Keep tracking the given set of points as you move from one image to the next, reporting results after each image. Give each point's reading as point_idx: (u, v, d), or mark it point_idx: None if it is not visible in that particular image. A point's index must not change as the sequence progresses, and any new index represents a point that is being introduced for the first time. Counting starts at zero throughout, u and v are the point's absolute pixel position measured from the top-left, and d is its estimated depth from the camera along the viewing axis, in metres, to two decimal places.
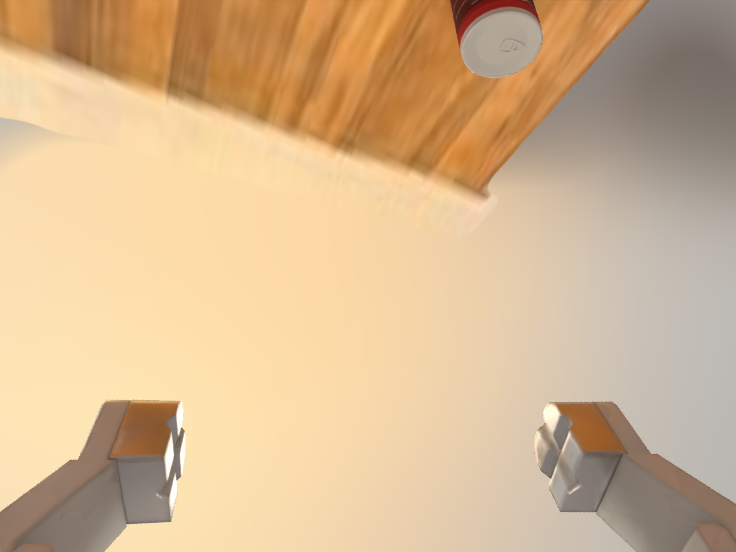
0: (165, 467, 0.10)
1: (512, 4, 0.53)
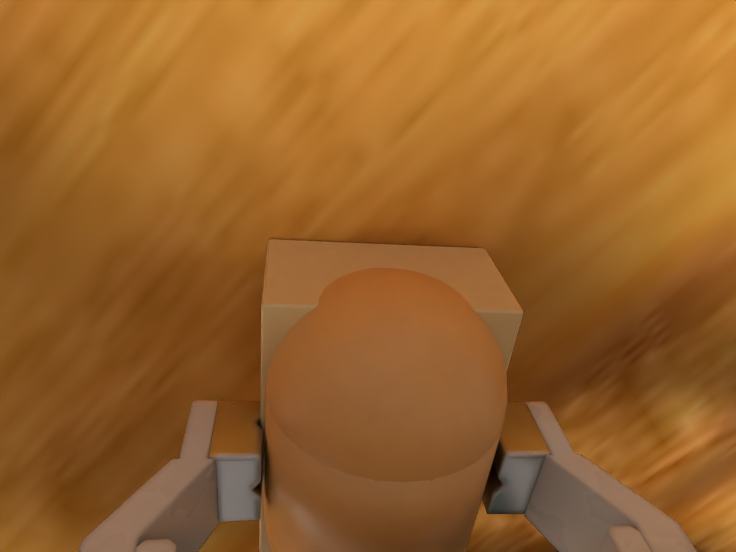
0: (261, 466, 0.11)
1: None
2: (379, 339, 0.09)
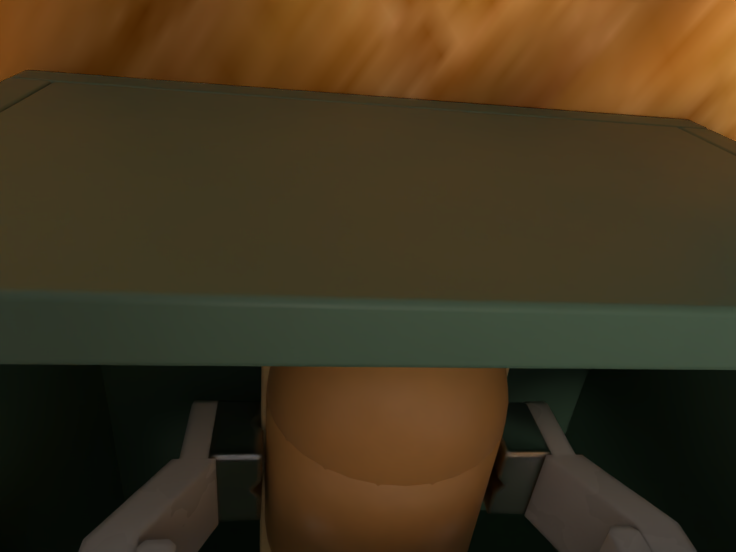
0: (261, 466, 0.11)
1: None
2: None
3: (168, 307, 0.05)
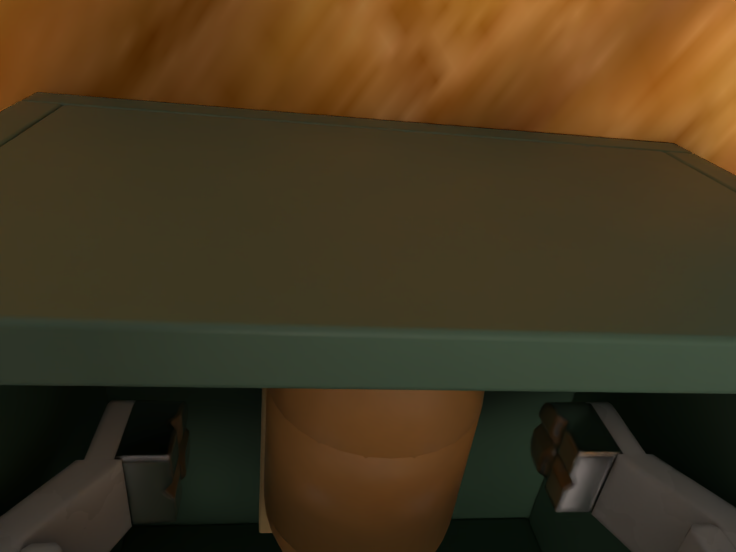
0: (171, 467, 0.10)
1: None
2: None
3: (176, 334, 0.05)
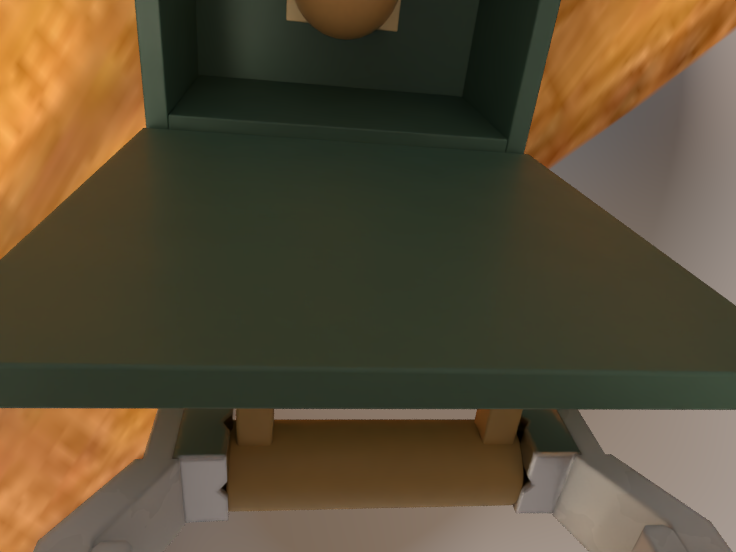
0: (226, 466, 0.10)
1: None
2: None
3: None
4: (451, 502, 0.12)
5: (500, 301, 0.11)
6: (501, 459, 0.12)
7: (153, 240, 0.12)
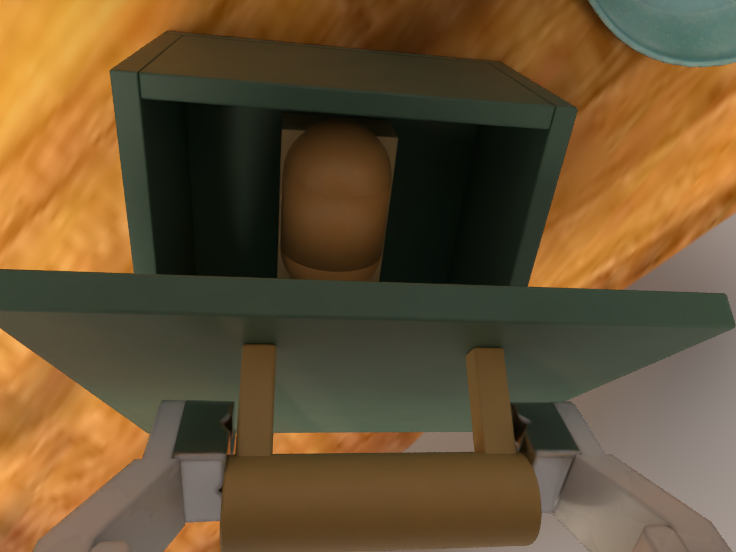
0: (226, 466, 0.10)
1: None
2: (330, 137, 0.22)
3: (260, 86, 0.17)
4: (468, 510, 0.11)
5: None
6: (507, 460, 0.11)
7: None
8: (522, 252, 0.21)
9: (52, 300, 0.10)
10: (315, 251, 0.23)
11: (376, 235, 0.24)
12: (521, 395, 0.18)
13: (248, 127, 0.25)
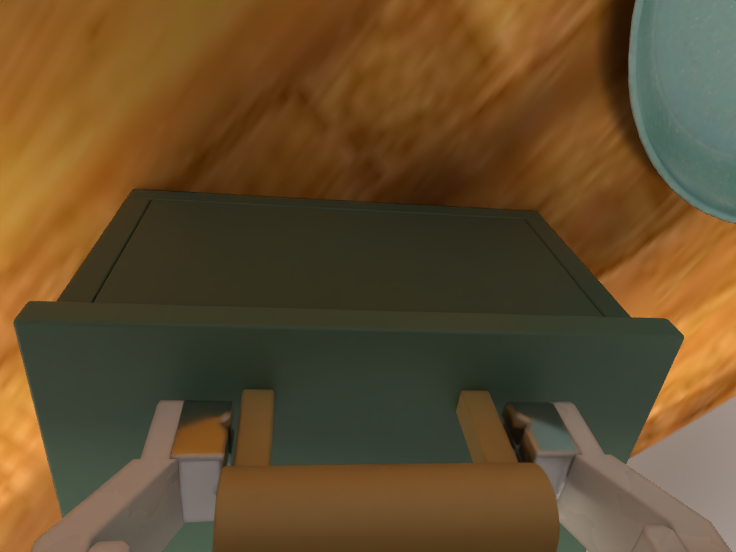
0: (224, 466, 0.10)
1: None
2: None
3: None
4: (477, 492, 0.10)
5: None
6: (510, 462, 0.11)
7: None
8: None
9: (83, 317, 0.12)
10: None
11: None
12: None
13: None
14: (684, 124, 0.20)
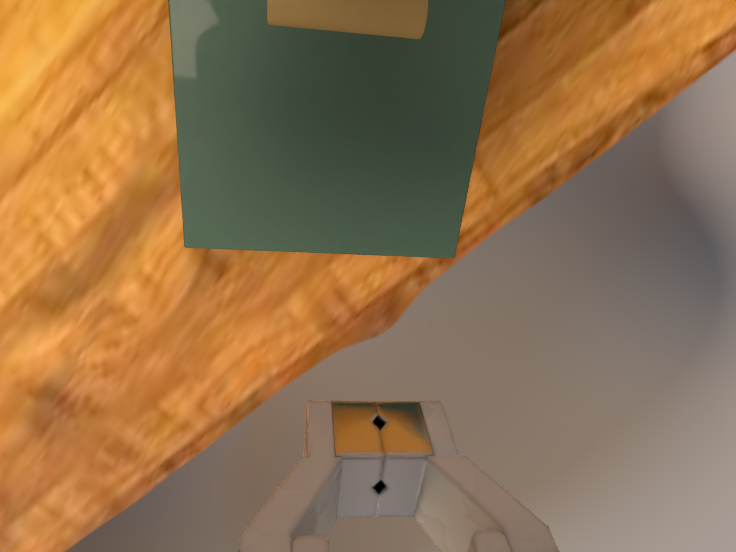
0: (383, 465, 0.11)
1: None
2: None
3: None
4: None
5: None
6: None
7: None
8: None
9: None
10: None
11: None
12: (443, 120, 0.28)
13: None
14: None
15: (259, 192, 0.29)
